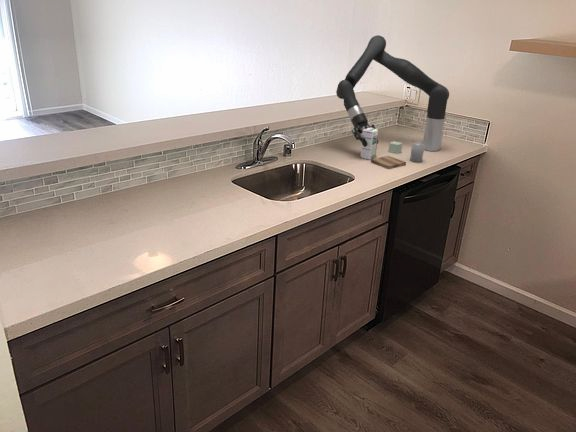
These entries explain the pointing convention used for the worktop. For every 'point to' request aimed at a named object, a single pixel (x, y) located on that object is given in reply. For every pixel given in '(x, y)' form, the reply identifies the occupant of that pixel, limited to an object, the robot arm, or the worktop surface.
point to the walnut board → (388, 162)
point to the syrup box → (369, 143)
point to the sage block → (395, 147)
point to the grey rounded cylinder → (417, 152)
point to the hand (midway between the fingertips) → (371, 144)
